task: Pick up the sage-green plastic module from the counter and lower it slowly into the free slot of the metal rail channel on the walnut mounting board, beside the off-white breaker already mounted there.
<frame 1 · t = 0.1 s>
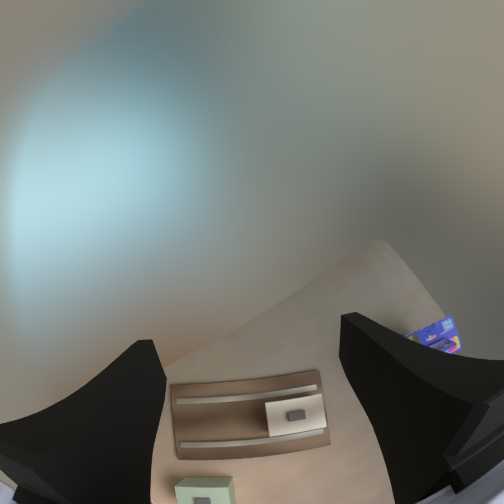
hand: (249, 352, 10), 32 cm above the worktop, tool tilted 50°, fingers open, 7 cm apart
ink cartridge box: (394, 361, 38), on the worktop
rail board: (249, 419, 35), on the worktop
module: (210, 489, 29), on the worktop
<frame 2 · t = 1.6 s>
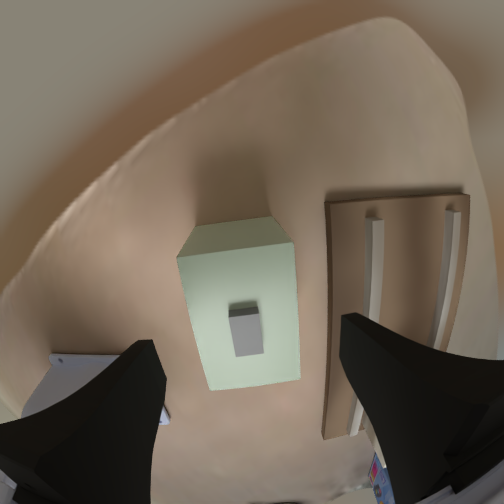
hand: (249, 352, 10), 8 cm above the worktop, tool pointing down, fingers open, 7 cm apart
ink cartridge box: (386, 458, 27), on the worktop
rail board: (395, 335, 20), on the worktop
module: (241, 276, 17), on the worktop
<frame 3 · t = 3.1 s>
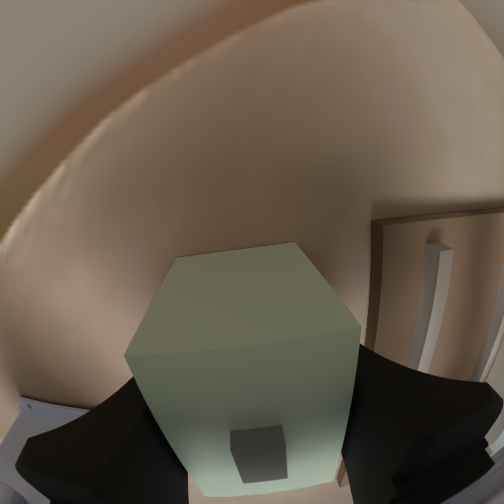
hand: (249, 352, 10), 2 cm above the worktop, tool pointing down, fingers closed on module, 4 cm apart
rail board: (434, 379, 14), on the worktop
module: (246, 329, 11), on the worktop, touching gripper
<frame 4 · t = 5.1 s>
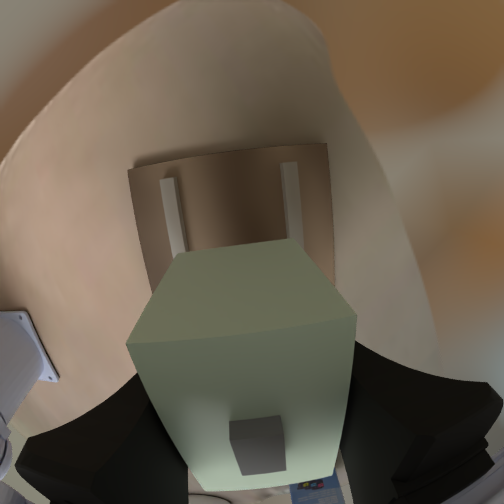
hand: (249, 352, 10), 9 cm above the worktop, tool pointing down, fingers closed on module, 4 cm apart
ink cartridge box: (306, 463, 27), on the worktop
rail board: (247, 315, 19), on the worktop
module: (246, 324, 12), point 7 cm above the worktop, touching gripper
mug: (197, 499, 30), on the worktop
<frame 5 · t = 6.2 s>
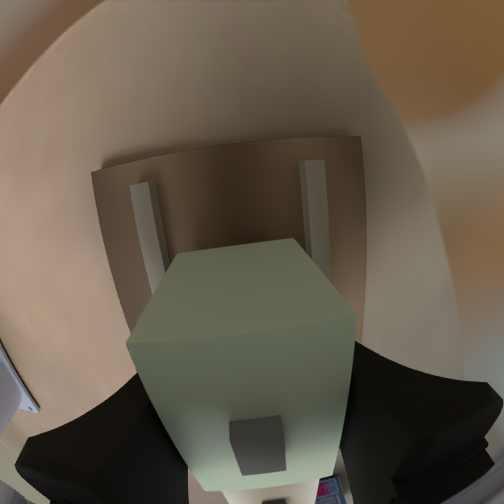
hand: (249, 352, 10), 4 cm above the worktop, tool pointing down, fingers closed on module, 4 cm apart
ink cartridge box: (314, 492, 22), on the worktop
rail board: (252, 356, 15), on the worktop
module: (246, 324, 12), point 2 cm above the worktop, touching gripper
when the fingers open (4 cm above the worktop, at t = 7.0 s): module drops 1 cm, resting on rail board.
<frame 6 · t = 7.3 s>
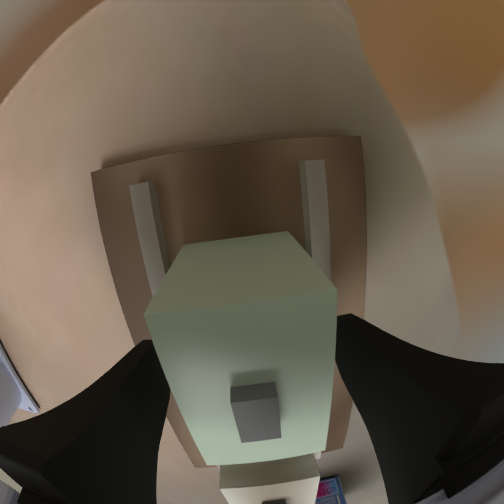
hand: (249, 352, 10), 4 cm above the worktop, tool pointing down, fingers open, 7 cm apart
ink cartridge box: (314, 492, 22), on the worktop
rail board: (252, 356, 15), on the worktop
module: (245, 310, 13), point 1 cm above the worktop, touching rail board
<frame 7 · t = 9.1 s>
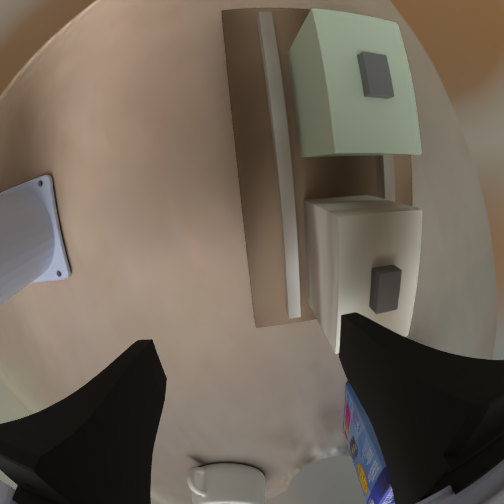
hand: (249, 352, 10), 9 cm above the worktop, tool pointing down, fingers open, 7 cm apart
ink cartridge box: (364, 403, 25), on the worktop
rail board: (329, 158, 17), on the worktop
module: (329, 102, 15), point 1 cm above the worktop, touching rail board
mug: (222, 472, 27), on the worktop
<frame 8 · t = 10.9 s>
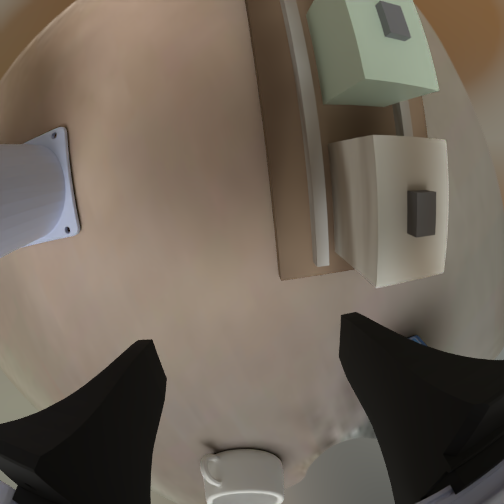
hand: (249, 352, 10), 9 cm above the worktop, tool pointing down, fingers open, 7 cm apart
rail board: (349, 109, 16), on the worktop
module: (346, 58, 14), point 1 cm above the worktop, touching rail board
mug: (236, 460, 27), on the worktop
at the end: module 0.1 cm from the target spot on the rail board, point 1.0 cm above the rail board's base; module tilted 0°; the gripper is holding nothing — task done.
